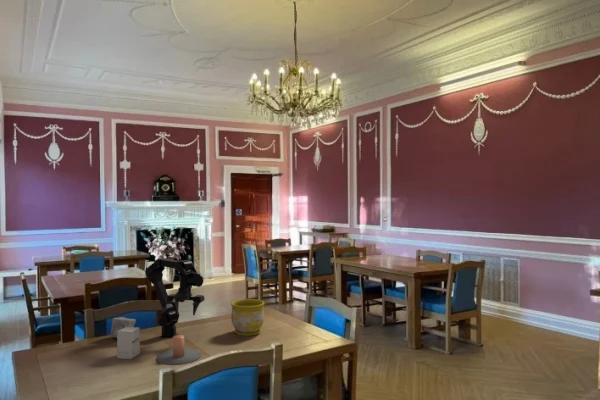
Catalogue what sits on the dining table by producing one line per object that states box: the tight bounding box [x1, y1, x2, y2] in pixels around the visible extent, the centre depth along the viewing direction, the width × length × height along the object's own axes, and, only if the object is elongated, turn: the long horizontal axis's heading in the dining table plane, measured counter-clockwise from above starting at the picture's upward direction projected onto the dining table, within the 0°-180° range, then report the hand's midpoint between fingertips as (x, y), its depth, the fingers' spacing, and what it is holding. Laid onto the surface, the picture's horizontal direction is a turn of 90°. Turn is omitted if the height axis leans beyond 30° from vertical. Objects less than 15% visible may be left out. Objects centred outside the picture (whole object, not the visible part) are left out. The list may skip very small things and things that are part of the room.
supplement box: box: [116, 326, 141, 360], centre depth 213 cm, size 7×7×13 cm
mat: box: [156, 348, 202, 366], centre depth 212 cm, size 20×20×1 cm
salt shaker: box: [172, 334, 185, 358], centre depth 212 cm, size 5×5×9 cm
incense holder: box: [110, 316, 137, 339], centre depth 241 cm, size 10×8×10 cm
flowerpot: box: [230, 298, 265, 337], centre depth 250 cm, size 18×18×16 cm
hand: (185, 314), depth 237 cm, fingers open, 9 cm apart
